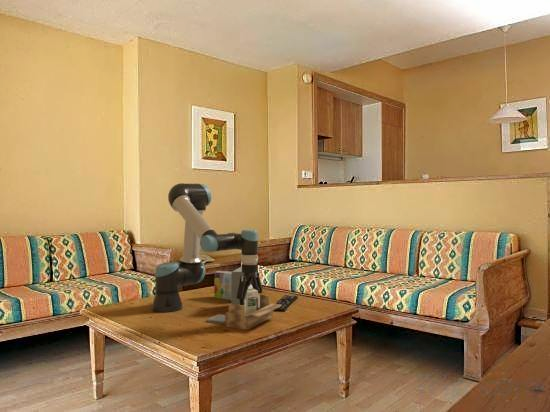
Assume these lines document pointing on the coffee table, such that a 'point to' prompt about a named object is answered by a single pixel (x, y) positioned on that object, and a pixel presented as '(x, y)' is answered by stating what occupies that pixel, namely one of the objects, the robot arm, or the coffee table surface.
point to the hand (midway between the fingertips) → (250, 310)
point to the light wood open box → (242, 321)
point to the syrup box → (251, 301)
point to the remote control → (285, 303)
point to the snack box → (222, 285)
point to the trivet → (217, 319)
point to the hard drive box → (236, 285)
